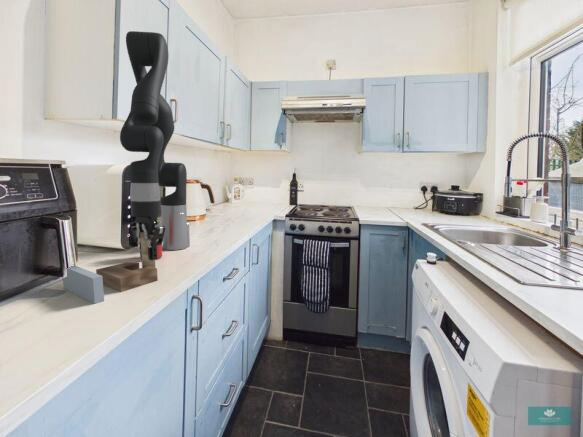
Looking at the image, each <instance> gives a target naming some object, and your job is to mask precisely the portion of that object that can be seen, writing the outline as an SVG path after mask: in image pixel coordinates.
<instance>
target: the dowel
mask: <svg viewBox="0 0 583 437" xmlns="http://www.w3.org/2000/svg"><path fill="white" fill-rule="evenodd" d="M149 236H153V235H149ZM140 237H141V255H142V258H141V268H144V267H148V266H151V267H154V268H157V267H156V260H149V257H148V248H149V247H148V243H147V240H146V239H145V236H144V232H140ZM152 240H153V239H151V242H152Z"/></svg>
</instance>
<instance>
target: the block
mask: <svg viewBox="0 0 583 437" xmlns="http://www.w3.org/2000/svg"><path fill="white" fill-rule="evenodd" d="M95 273H96V274H98V275H101V276H102V278H103V286H106V287H108V288H111V289H112V290H115V291H118V292H120V293H122V292H125V291H129V290H131V289H136V288H139V287H142V286H144V285H147V284H151V283H154V282H157V281H158V268H157V267H156V268H154V267H151V266H148V267H144V268H142V267H140V262H138V261H135V260H129V261H126V262H122V263H121V262H120V263H117V264H113V265H110V266H106V267H100V268H97V269H95Z"/></svg>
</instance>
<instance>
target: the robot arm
mask: <svg viewBox="0 0 583 437" xmlns="http://www.w3.org/2000/svg"><path fill="white" fill-rule="evenodd" d="M125 45H126V49H127V53H128V54H127V55H128V58H129V62H130V65H131V68H132V72H133V75H134V78H135V82H136V85H135V87H134V89H133V90H132V94H131V102H130V111H129V113H128V115H127V118H126V119H125V122H124V123H123V125H122V127H121V130H120V134H119V141H120V145H121V146H122V148H124V149H125V151H128V152H132V153H148V155H147V156H146V158H144V159H141V160H135V161H132V162H131V163H130V165H129V176H130V180H129V181H130V189H129V196H130V211H131V212H130V213H131V216H132V217H134V218H135V220H134V221H132V222H130V223H129V228H130V231H131V234H132V235H131V236H132V239H133V242H134V243H137V245H138V246H139V257H140V258H141V259H142V255H141V237H140V232H144V236H145V239H146V240H147V243H148V247H149V248H148V257H149V260H155V259H157V246H159V245H162V250H166V251H178V250H184V249H187V248H188V247H190V246H191V245H190V243H191V242H190V240H191V239H190V223H189V222H188V215H187V212H188V211H187V177H188V176H187V175H188V172H187V168H186V166H185V164H184V163H182V162H165V151H166V148H167V146H168V144H169V142H170V140H171V138H172V137H173V134H174V132H175V122H174V116H173V110H172V108H171V106H170V104H169V103H168V102H167V100H166V99H165V98H164V97H163V95H162V94H161V91H162V87H163V84H164V80H165V76H166V73H167V69H168V64H169V47H168V44H167V40H166V38H165V37H164V35H163V34H161V33H159V32H152V31H151V32H150V31H134V30H133V31H131V30H130V31H127V32H126V35H125ZM146 67H150V69H149V70H148V71H147V68H146ZM160 187H162V188H163V187H164V188H175V191H174V192H172V193H170V194H168V195H163V196H162V197H161V191H160V190H161V189H160ZM159 216H161V225H160V223H159V220H158V217H159ZM149 235H153V236H149ZM151 239H153V240H152V242H151ZM157 239H159V240H157ZM157 260H158V259H157ZM155 261H156V260H155Z"/></svg>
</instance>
